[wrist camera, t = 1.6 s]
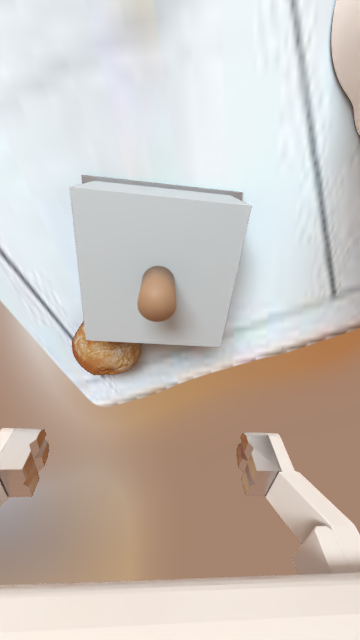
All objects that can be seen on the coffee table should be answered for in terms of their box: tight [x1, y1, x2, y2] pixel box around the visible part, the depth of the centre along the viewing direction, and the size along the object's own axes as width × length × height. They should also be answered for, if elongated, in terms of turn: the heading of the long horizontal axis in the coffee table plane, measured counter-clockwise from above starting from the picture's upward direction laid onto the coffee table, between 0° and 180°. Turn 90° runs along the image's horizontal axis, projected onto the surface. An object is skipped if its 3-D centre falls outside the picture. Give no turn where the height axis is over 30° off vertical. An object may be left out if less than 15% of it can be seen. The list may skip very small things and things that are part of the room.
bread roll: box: [72, 321, 141, 375], centre depth 38 cm, size 10×10×8 cm
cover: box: [70, 181, 252, 347], centre depth 27 cm, size 15×15×14 cm
